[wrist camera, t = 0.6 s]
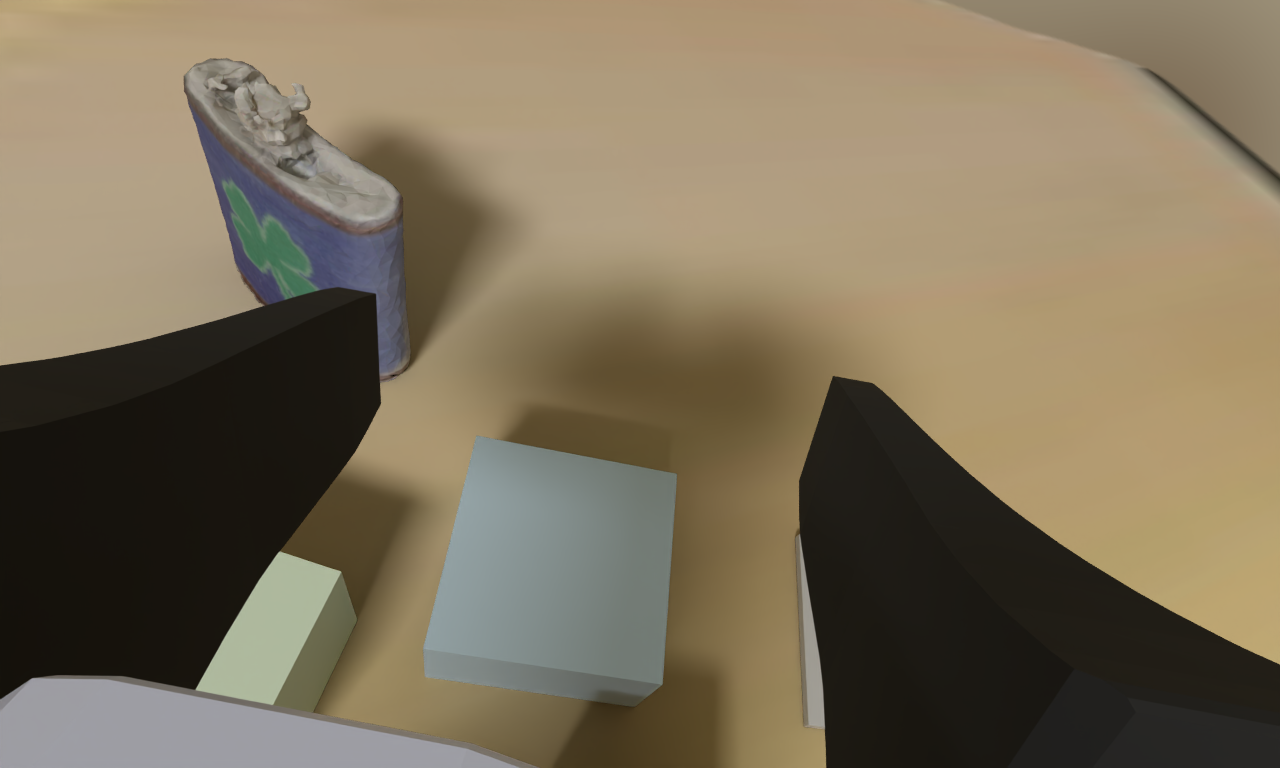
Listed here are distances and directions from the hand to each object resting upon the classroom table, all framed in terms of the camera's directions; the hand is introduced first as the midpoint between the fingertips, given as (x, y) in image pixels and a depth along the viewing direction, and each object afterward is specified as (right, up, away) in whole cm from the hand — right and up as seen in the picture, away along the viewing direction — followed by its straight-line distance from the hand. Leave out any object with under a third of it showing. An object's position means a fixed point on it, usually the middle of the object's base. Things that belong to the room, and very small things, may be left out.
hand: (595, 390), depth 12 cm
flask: (-13, +3, +19) cm, 23 cm away
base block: (-3, -7, +15) cm, 17 cm away
